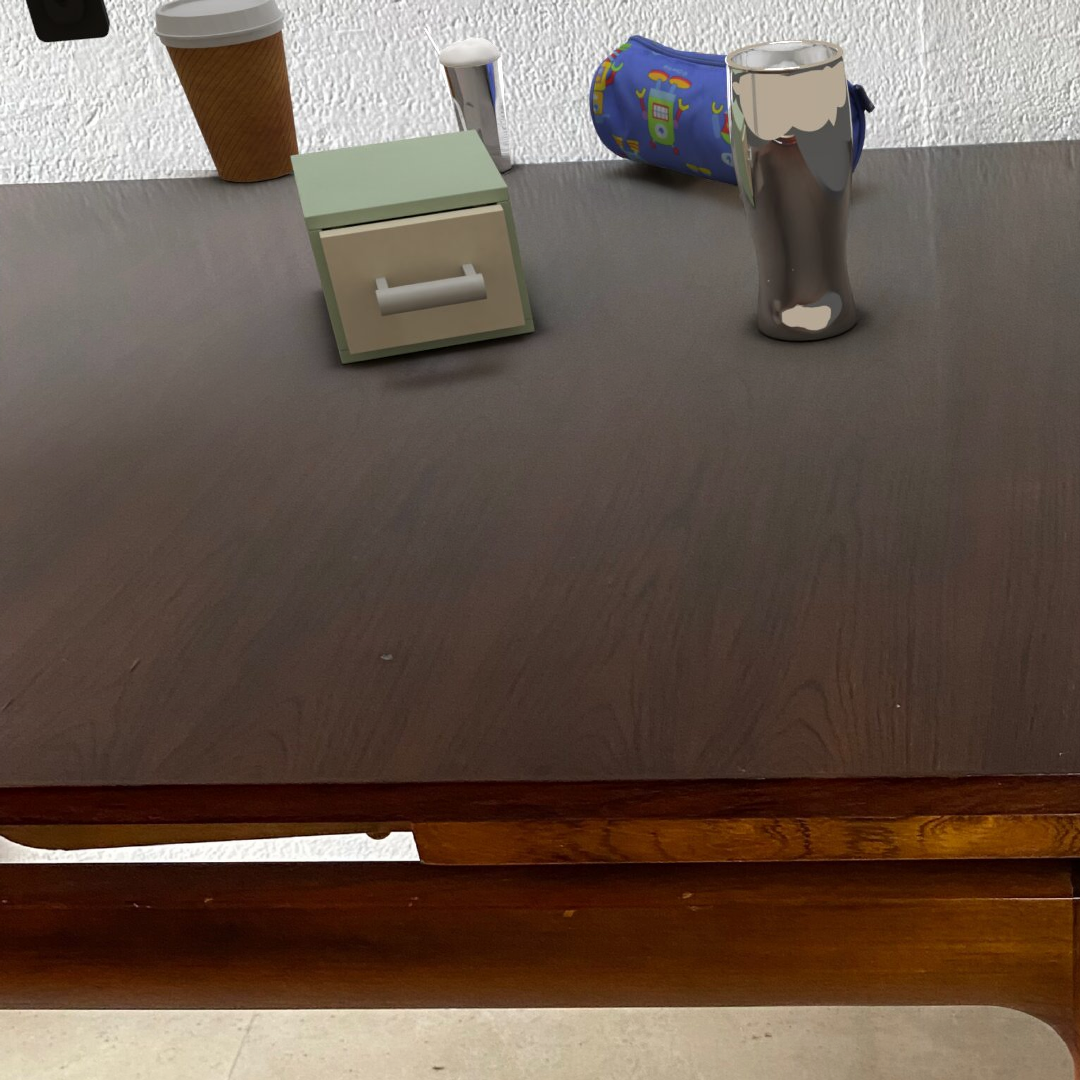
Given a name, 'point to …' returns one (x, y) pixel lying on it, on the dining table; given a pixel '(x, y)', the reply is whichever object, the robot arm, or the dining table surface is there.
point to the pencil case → (677, 109)
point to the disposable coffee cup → (234, 82)
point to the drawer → (423, 277)
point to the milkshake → (478, 93)
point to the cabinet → (401, 205)
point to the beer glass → (795, 181)
